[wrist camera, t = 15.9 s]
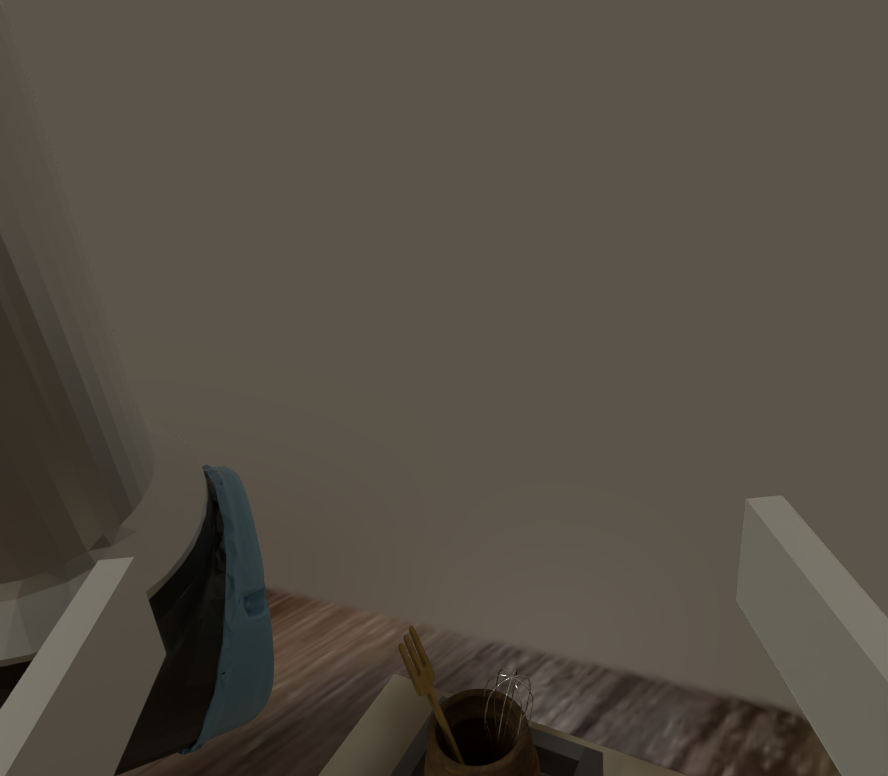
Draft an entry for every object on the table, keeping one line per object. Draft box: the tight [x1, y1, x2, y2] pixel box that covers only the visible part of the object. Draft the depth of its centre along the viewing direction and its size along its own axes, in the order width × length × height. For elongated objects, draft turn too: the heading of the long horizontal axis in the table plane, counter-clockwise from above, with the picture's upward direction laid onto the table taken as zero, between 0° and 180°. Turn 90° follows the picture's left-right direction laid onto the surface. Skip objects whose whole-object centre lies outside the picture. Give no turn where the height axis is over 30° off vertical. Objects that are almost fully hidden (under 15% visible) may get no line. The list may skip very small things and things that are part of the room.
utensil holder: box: [399, 626, 541, 776], centre depth 35 cm, size 6×6×12 cm
